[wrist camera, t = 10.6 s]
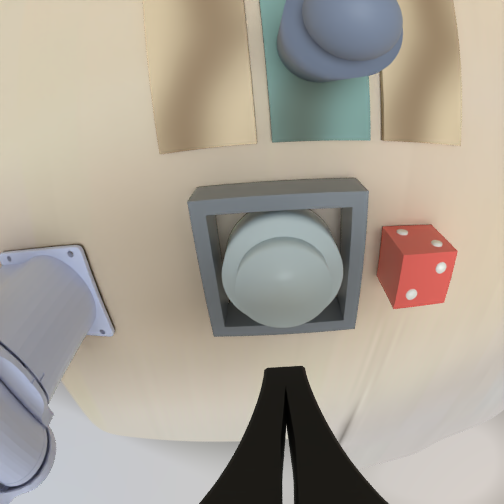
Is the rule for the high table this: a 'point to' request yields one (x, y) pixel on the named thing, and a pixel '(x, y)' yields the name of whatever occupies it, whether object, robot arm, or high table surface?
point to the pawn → (339, 38)
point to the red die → (415, 265)
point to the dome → (281, 267)
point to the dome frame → (275, 199)
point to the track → (294, 80)
